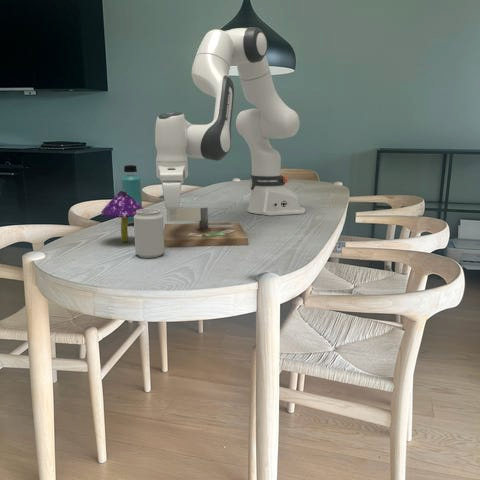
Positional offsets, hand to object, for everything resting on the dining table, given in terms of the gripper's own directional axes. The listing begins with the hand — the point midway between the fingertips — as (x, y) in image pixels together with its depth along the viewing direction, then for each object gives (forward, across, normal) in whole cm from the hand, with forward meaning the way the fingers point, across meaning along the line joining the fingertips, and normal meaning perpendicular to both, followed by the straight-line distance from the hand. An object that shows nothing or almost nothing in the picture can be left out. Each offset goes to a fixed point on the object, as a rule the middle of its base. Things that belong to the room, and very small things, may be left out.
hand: (173, 219), depth 139 cm
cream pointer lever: (+4, -6, +8) cm, 10 cm away
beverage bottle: (+7, -25, -14) cm, 30 cm away
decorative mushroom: (+7, 0, -14) cm, 16 cm away
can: (+7, +15, -6) cm, 17 cm away
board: (+6, -6, +9) cm, 12 cm away
